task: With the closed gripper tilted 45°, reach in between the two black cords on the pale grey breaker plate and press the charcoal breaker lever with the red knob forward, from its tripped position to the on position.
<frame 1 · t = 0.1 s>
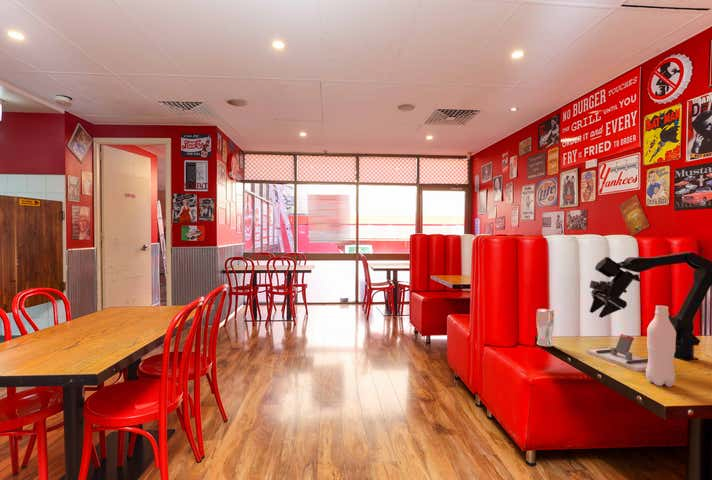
hand: (595, 314, 148), 15 cm above the table, tool tilted 35°, fingers open, 9 cm apart
breaker lever: (624, 344, 137), point 6 cm above the table, hinge at -25.0°
breaker plate: (621, 360, 137), on the table
water bottle: (659, 384, 115), on the table
beer glass: (544, 345, 155), on the table
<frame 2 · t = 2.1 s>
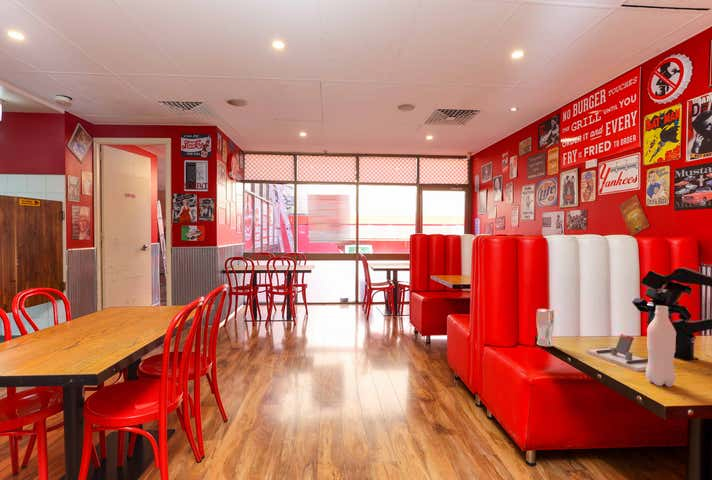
hand: (648, 324, 140), 13 cm above the table, tool tilted 45°, fingers closed
nothing on the table moved.
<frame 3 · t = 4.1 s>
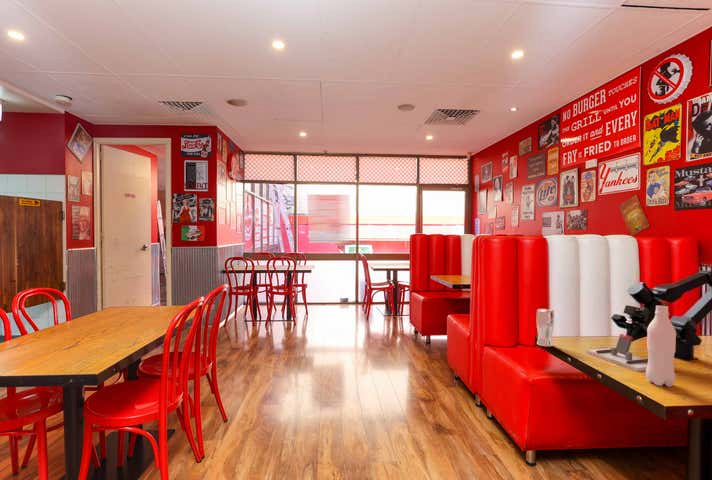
hand: (626, 342, 137), 7 cm above the table, tool tilted 45°, fingers closed, pressing on breaker lever
breaker lever: (623, 344, 137), point 6 cm above the table, hinge at -22.2°, touching gripper
everything else where it was.
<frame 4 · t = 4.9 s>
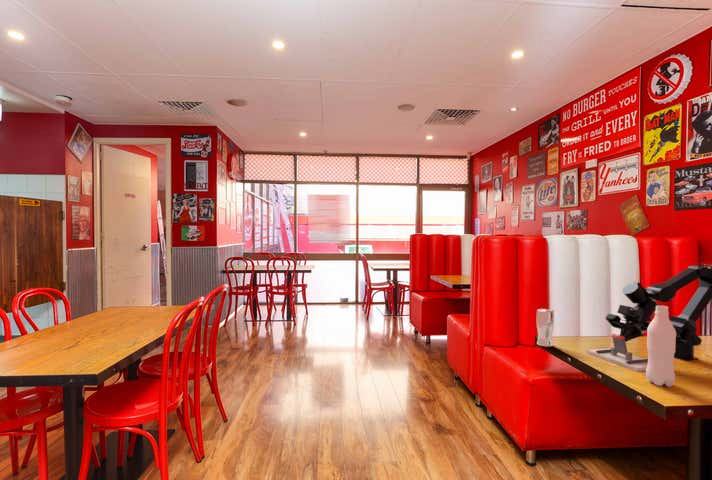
hand: (620, 342, 136), 7 cm above the table, tool tilted 45°, fingers closed, pressing on breaker lever
breaker lever: (619, 344, 136), point 6 cm above the table, hinge at 15.8°, touching gripper
everything else where it was.
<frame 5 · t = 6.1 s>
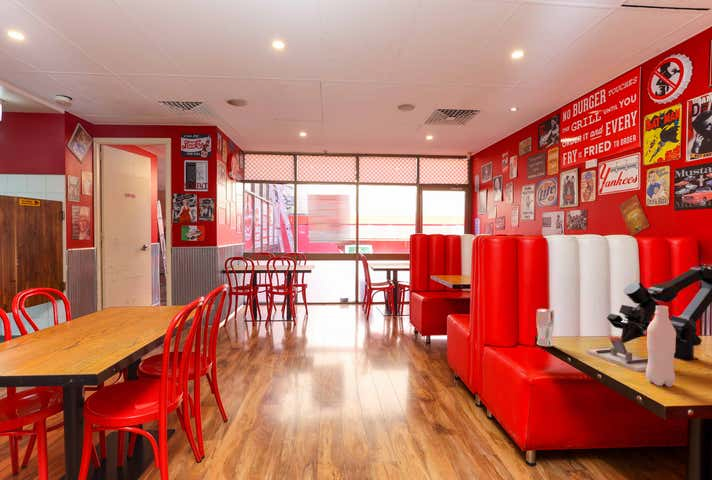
hand: (622, 342, 136), 7 cm above the table, tool tilted 45°, fingers closed
breaker lever: (618, 345, 136), point 6 cm above the table, hinge at 29.2°
everything else where it was.
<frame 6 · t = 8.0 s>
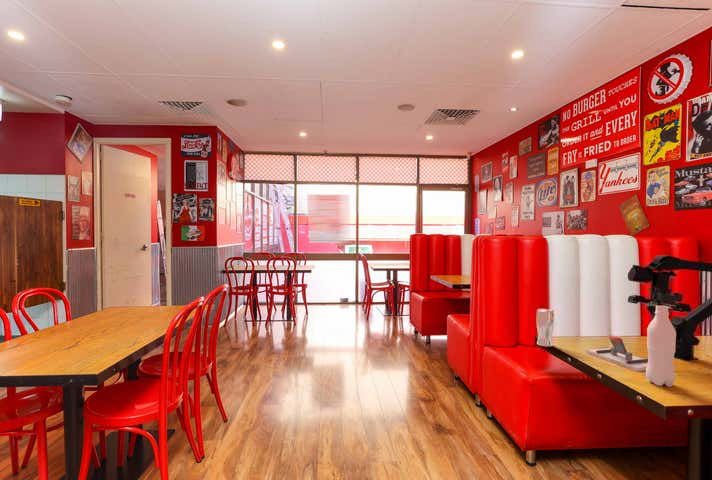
hand: (656, 325, 140), 13 cm above the table, tool tilted 15°, fingers closed
nothing on the table moved.
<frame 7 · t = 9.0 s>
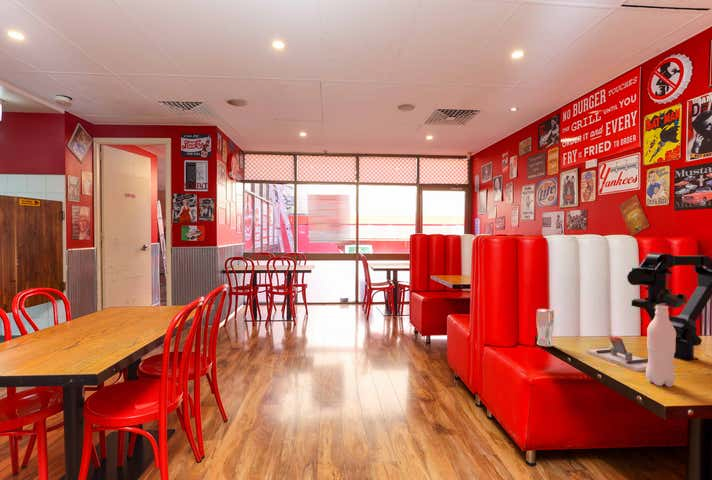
hand: (656, 325, 139), 13 cm above the table, tool pointing down, fingers closed
nothing on the table moved.
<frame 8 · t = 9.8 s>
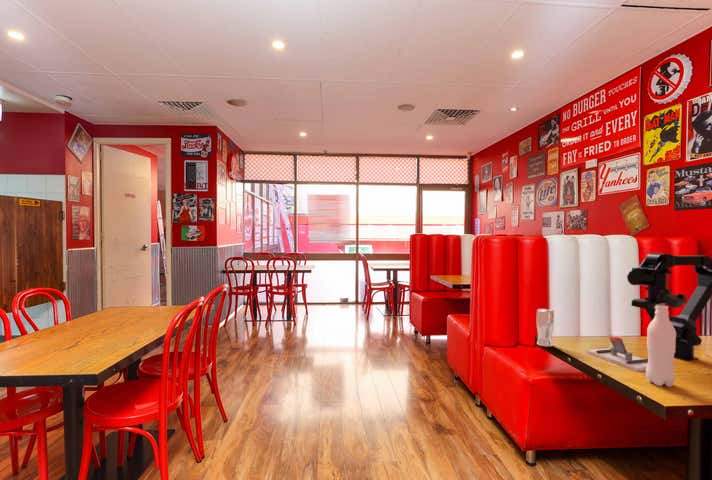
hand: (656, 325, 139), 13 cm above the table, tool pointing down, fingers closed
nothing on the table moved.
at the end: breaker lever at +29° (first picture: -25°); beer glass moved 0.2 cm from its start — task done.
